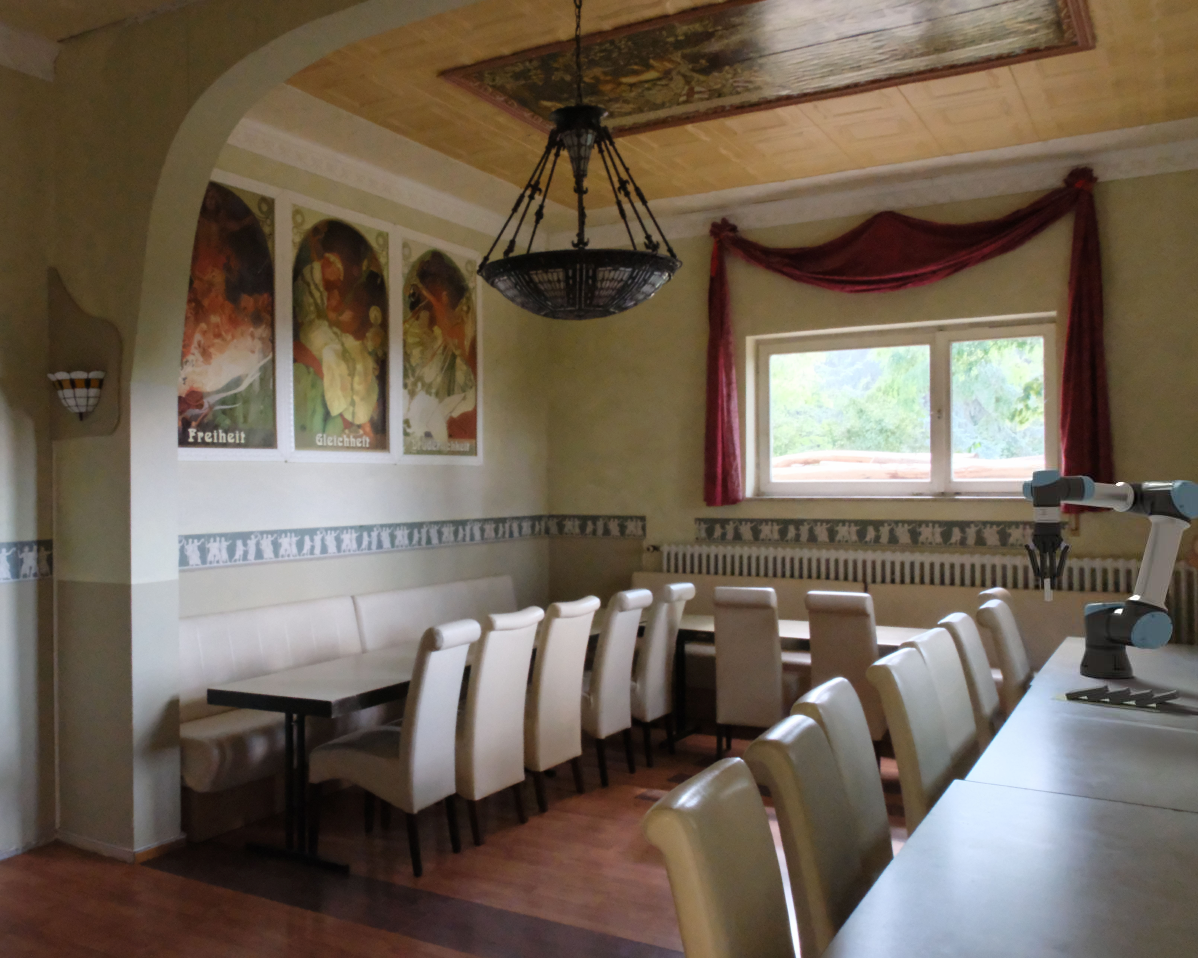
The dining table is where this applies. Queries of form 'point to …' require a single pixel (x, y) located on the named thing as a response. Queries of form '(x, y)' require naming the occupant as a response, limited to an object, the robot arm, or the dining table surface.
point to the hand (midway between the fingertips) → (1048, 600)
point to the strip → (1107, 703)
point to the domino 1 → (1087, 692)
